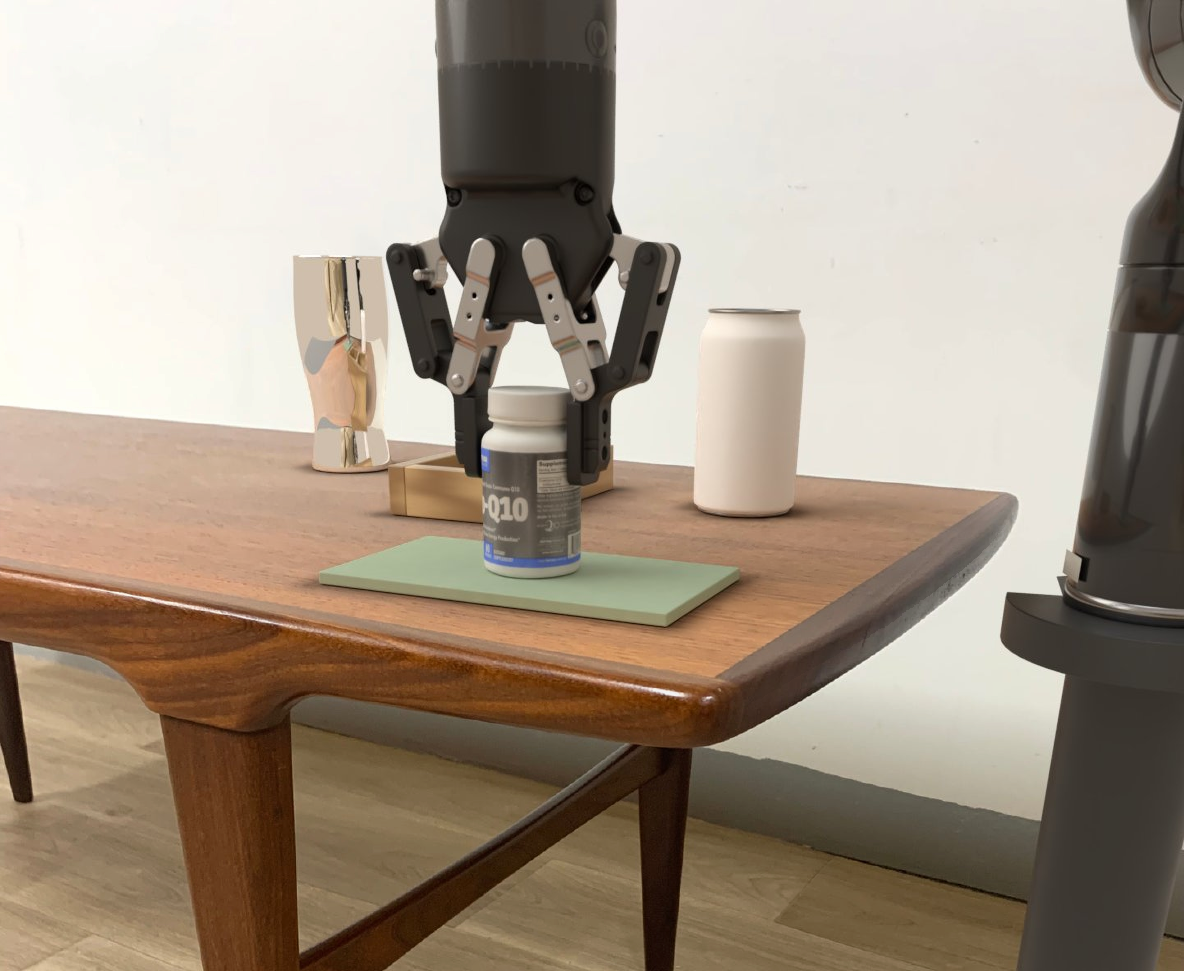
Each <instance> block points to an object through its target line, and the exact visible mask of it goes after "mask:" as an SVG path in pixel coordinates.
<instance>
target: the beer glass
mask: <svg viewBox="0 0 1184 971" xmlns="http://www.w3.org/2000/svg"><path fill="white" fill-rule="evenodd" d="M291 257H292V303H293V319H294V328H295V338H296V342H297V347H298V353H299V357H300V361H301V366H302V369H303V372H304V373H303V374H304V378H305V382H306V385H307V389H308V394H309V400H310V403H311V409H312V415H313V416H312V417H313V430H314V432H313V446H312V454H311V467H312V468H313V469H314V470H316V471H321V472H325V473H326V472H328V473H343V474H344V473H346V474H348V473H349V474H353V473H354V474H355V473H370V472H372V473H373V472H378V471H383V470H388V466H389V465H392V464H393V462H392V456H391V453H390V447H389V444H388V443H389V442H388V438H387V433H386V426H385V397H386V387H387V379H388V370H389V359H390V348H391V314H390V301H389V300H390V299H389V292H388V284H387V276H386V270H385V258H384V256H378V255H377V256H376V255H331V254H330V255H324V254H323V255H321V254H320V255H316V254H312V255H311V254H309V255H308V254H307V255H306V254H303V255H302V254H301V255H300V254H297V255H292V256H291Z"/></svg>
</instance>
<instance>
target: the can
mask: <svg viewBox="0 0 1184 971" xmlns="http://www.w3.org/2000/svg"><path fill="white" fill-rule="evenodd" d="M707 312H708V319H707V321H706V324H705V325H704V327H703V329H702V331H701V334H700V339H699V349H698V350H699V352H698V353H699V354H698V370H697V371H698V372H697V393H696V395H697V396H696V397H697V398H696V420H695V421H696V422H695V441H694V442H695V444H694V447H695V448H694V469H693V470H694V472H693V503H694V505H696V507H697V509H698V510H699V511H700V512H703V513H706V514H710V515H715V516H720V517H731V518H768V517H769V518H770V517H777V516H781V515H785V514H788V512H789V511H790V509H791V508H792V507H793V506H794V504H795V497H796V496H795V494H796V482H797V470H798V468H797V467H798V457H799V442H800V430H801V418H802V416H801V415H802V403H803V402H802V401H803V387H804V373H805V359H806V358H805V357H806V335H805V334H806V333H805V332H804V329H803V326H802V323H801V320H800V314H801V313H802V310H801V309H791V308H754V307H753V308H752V307H751V308H750V307H749V308H747V307H746V308H745V307H741V308H740V307H737V308H736V307H731V308H725V307H724V308H722V307H721V308H708V309H707Z"/></svg>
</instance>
